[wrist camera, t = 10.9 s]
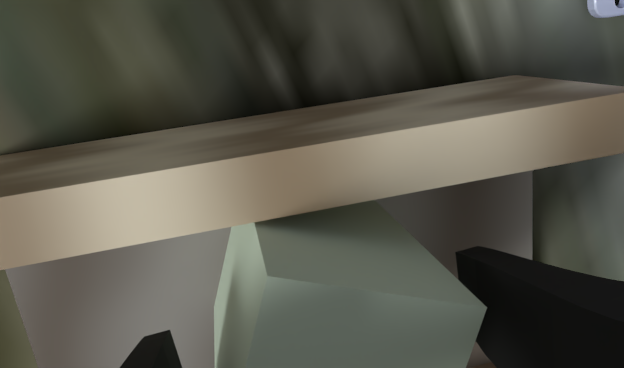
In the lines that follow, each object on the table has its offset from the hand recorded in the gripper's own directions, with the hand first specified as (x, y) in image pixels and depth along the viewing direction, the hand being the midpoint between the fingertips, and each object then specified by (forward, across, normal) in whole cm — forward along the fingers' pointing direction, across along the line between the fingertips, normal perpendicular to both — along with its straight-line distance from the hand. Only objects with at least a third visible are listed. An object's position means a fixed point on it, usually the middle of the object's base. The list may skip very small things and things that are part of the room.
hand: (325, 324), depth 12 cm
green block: (+4, 0, 0) cm, 4 cm away
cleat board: (+5, 0, +1) cm, 6 cm away
